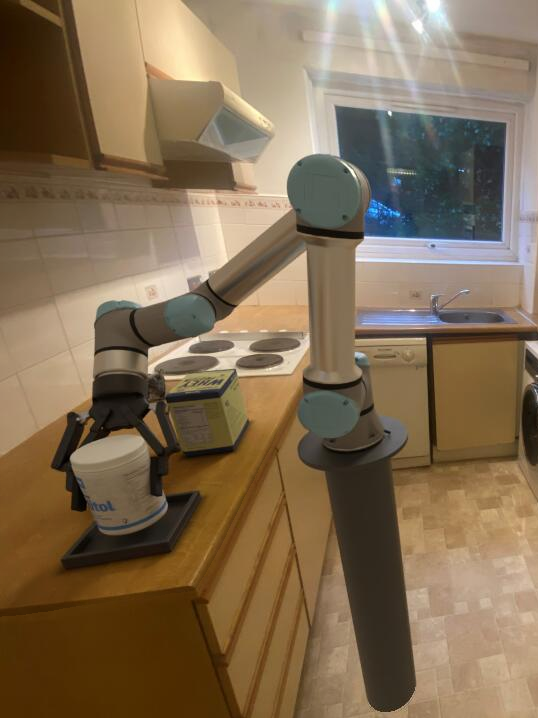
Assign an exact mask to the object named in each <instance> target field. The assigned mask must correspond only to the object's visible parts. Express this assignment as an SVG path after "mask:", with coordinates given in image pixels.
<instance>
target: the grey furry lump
mask: <svg viewBox="0 0 538 718" xmlns="http://www.w3.org/2000/svg"><path fill="white" fill-rule="evenodd" d="M166 371H167V370H165V369H164V368H160V369H159V370H158V371H157V373H148V379H147V380H146V381H147V382H148V400H159V399H160V400H166V399H165V396H166V395H167V393H166V384H167V383H166V378H165V376H164V374H165V373H166Z"/></svg>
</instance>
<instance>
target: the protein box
mask: <svg viewBox="0 0 538 718" xmlns="http://www.w3.org/2000/svg"><path fill="white" fill-rule="evenodd" d="M164 400H165V403H166V404H168V405H169V406H170V411H169V415H170V418H171V421H172V422H173V423H172V424H173V427H174V430H175V433H176V436H177V438H178V441H179V444H180V446H181V451H182V453H183V455H184V458H189V457H197V456H204V455H213V454H218V453H219V454H220V453H225V452H234V451H235V450H236V448H237V446H238V445H239V444H240V441H241V439H242V437H243V436H244V434H245V431H246V430H247V428H248V426H249V424H250V418H249V415H248V414H249V413H248V410H247V406H246V403H245V399H244V395H243V391H242V386H241V383H240V379H239V376H238V372H237V368H226V369H213V370H202V371H189V372H188V373H187V374H186V375H185V376H184V377H183V378H182V379H181V380H180V381H179V382H178V383H177V384H176V385H174V387H173V388H172V389H171V390H170V391H168V392H167V393H166V396H165V399H164Z"/></svg>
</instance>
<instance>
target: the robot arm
mask: <svg viewBox="0 0 538 718" xmlns="http://www.w3.org/2000/svg"><path fill="white" fill-rule="evenodd" d="M286 194H287V198H288V201H289V204H290V206H291V209H290V210H289V211H287V212H286V213H285V214H283V216H281V217H280V218H279V219H277V220H276V221H275V222H274V223H273V224H271V226H269V227H268V228H267V229H266V230H265V231H263V232H262V233H260V235H258V236H257V237H256V238H255V239H254V240H252V241H251V242H250V243H249V244H248V245H246V246H245V247H244V248H243V249H242V250H240V251H239V252H238V253H237V254H236V255H235V256H233V257H232V258H231V259H230V260H229V261H227V262H226V263H225V264H223V265H222V266H221V267H220V268H219V269H218V270H216V271H215V272H214V273H212V274H211V275H210V276H209V277H208V278H207V279H206V280H204V281H203V282H201V284H199V285H198V286H197V287H196V288H194V289H193V290H191V291H188V292H186V293H182V294H181V295H178V296H176V297H172V298H170V299H167V300H164V301H160V302H157V303H154V304H150V305H147V306H143V305H141V304H140V303H138V302H134V301H131V300H124V299H122V300H119V301H118V300H108V301H104V302H102V303H101V304H99V306H98V307H97V309H96V315H95V320H94V323H93V329H94V348H93V349H94V350H93V351H94V352H93V365H92V366H93V367H92V379H93V381H92V385H91V387H92V388H91V402H92V405H91V407H90V408H89V409H88V411H82V412H75V411H69V412H68V413H67V414H66V427H65V430H64V432H63V434H62V437H61V439H60V442H59V443H58V446H57V448H56V452H55V454H54V456H53V459H52V461H51V464H50V468H51V469H53V470H55V471H57V472H61V473H65V486H64V487H65V491H66V492H68V493H69V492H70V493H71V499H70V500H71V501H70V510H71V511H75V512H79V513H83V512H87V510H88V504H87V502H86V499H85V497H84V495H83V492H82V490H81V488H80V486H79V483H78V481H77V479H76V477H75V474H74V472H73V469H72V464H71V461H70V457H71V455H72V454H73V453H74V452H75V451H76V450H77V449H79V448H81V447H82V446H84V445H86V444H89V443H91V442H94V441H97V440H100V439H103V438H107V437H110V434H111V433H112V432H119V431H122V430H132V429H133V430H134V429H135V430H136V431H137V432H138V433H139V435H140V436H141V437H142V438H143V439H144V441H145V443H146V444H147V446H149V448H150V449H151V450H152V451H153V452H154V455H153V456H151V457H150V494H151V495H153V496H156V497H160V496H163V492H164V491H163V492H162V489H163V477H165V476H168V475H169V473H170V470H169V469H170V467H169V466H170V463H169V462H170V460H169V458H170V457H171V456H172V455H174V454H179V453H180V452H182V447H181V444H180V441H179V438H178V435H177V432H176V430H175V427H174V424H173V423H172V419H171V417H170V406H169V405H168V404H167V402H166V401H164V400H163V399H160V400H158V401H156V402H149V399H148V382H147V381H146V380H147V379H148V374H149V350H150V349H151V348H155V347H160V346H163V345H166V344H170V343H175V342H178V341H183V340H186V339H190V338H197V337H199V336H202V335H205V334H207V333H209V332H212V331H213V330H214V328H215V324H216V323H217V322H220V321H223V320H225V319H226V318H228V317H229V316H230V315H231V314H233V312H234V311H235V309H236V308H237V307H239V306H240V305H241V304H242V303H243V302H245V301H246V300H247V299H248V298H250V297H251V296H252V295H253V294H254V293H256V292H257V291H258V290H259V289H260V288H262V287H264V285H266V284H267V283H268V282H269V281H270V280H271V279H273V278H275V276H277V275H278V274H279V273H281V272H282V271H283V270H284V269H285V268H287V267H288V266H289V265H290V264H292V263H293V262H294V261H295V260H297V259H298V258H299V257H300V256H301V255H303V254H304V253H305V252H306V277H307V280H306V281H307V305H308V336H309V337H308V338H309V364H308V365H307V366H305V368H303V370H302V397H301V399H299V402H298V405H297V410H296V411H297V418H298V421H299V423H300V425H301V426H302V427H303V428H304V430H307V431H308V432H309V431H310V432H311V433H312V434H314V435H316V436H319V437H322V442H323V446H324V447H325V449H327V450H328V451H331V452H334V453H341V454H349V453H357V452H361V451H365V450H368V449H370V448H372V447H374V446H376V445H378V444H379V443H380V442H381V441H382V440H383V439H384V437H385V433H388V434H390V433H391V431H388V430H385V429H384V426H383V424H382V422H381V420H380V418H379V416H378V415H379V414H378V412H377V410H376V408H375V402H374V395H373V386H372V378H371V370H370V367H371V364H370V362H369V358H368V357H369V356H368V355H366V354H365V353H363V352H359V351H356V257H357V256H356V250H357V247H358V246H359V245H360V244H362V243H363V242H364V241H365V215H366V213H367V212H368V211H369V209H370V207H371V203H372V190H371V185H370V182H369V180H368V178H367V176H366V175H365V174H364V173H363V171H362V170H361V169H360V168H359V167H358V166H356V164H353V163H351V162H350V161H347V160H345V159H343V158H342V157H340V156H337V155H333V154H330V153H313V154H309V155H306V156H304V157H302V158H300V159H299V160H297V162H295V163H294V164H293V166H292V167H291V169H290V171H289V173H288V176H287V179H286ZM151 411H152V414H154V415H155V416H156V419H157V422H158V425H159V427H160V430H161V432H162V435H163V437H164V440H165V443H166V445H167V446H164V445H163V444H162V442H161V441H160V440H159V439H158V437H157V436H156V435H155V434H154V432H153V431H152V430H151V429H150V427H149V425H148V424H147V423H146V422H145V420H144V419H145V418H146V416H147V415H148V414H149V413H150V412H151ZM90 419H92V420H93V423H92V425H90V428H89V432H88V433H87V435H86V436H85V438H83V441H82V442H81V439H82V436H83V434H84V432H85V426H87V425H88V424H89V421H90ZM80 442H81V443H80Z"/></svg>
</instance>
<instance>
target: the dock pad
mask: <svg viewBox="0 0 538 718" xmlns="http://www.w3.org/2000/svg"><path fill="white" fill-rule="evenodd" d="M164 495H165V498H166V501H167V504H168V508H167V511H166V513H165V514H164V515H163V516H162V517H161V518H160V519H159V520H158V521H156V522H155V523H153V524H152V525H150V526H148V527H146V528H144V529H142V530H139V531H137V532H133V533H130V534H124V535H107V534H104V533H102V532H101V531H100V530H99V528H98V526H97V524H96V522H95V520H93V521H92V522H91V524H90V525H89V526H88V527H87V528H86V530H85V531H84V532H83V533H82V534H81V535H80V537H78V539H77V540H76V541H75V542H74V543H73V545H71V547H70V548H69V549H68V550H67V552H66V553H65V554H64V555H63V556H62V557H61V558H60V562H61V564H62V566H63V567H64V570H70V569H77V568H82V567H88V566H95V565H100V564H105V563H106V564H107V563H111V562H117V561H123V560H129V559H135V558H140V557H141V558H142V557H146V556H147V557H148V556H152V555H158V554H164V553H170V552H172V551H173V549H174V548H175V546H176V544H177V543H178V541H179V539H180V538H181V536H182V534H183V532H184V530H185V528H186V527H187V525H188V524H189V522H190V520H191V518H192V517H193V515H194V513H195V512H196V510H197V508H198V506H199V504H200V503H201V501H202V498H203V497H202V495H201V491H200V490H199V489H197V490H191V491H184V492H183V491H182V492H176V493H169V494H164Z"/></svg>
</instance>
